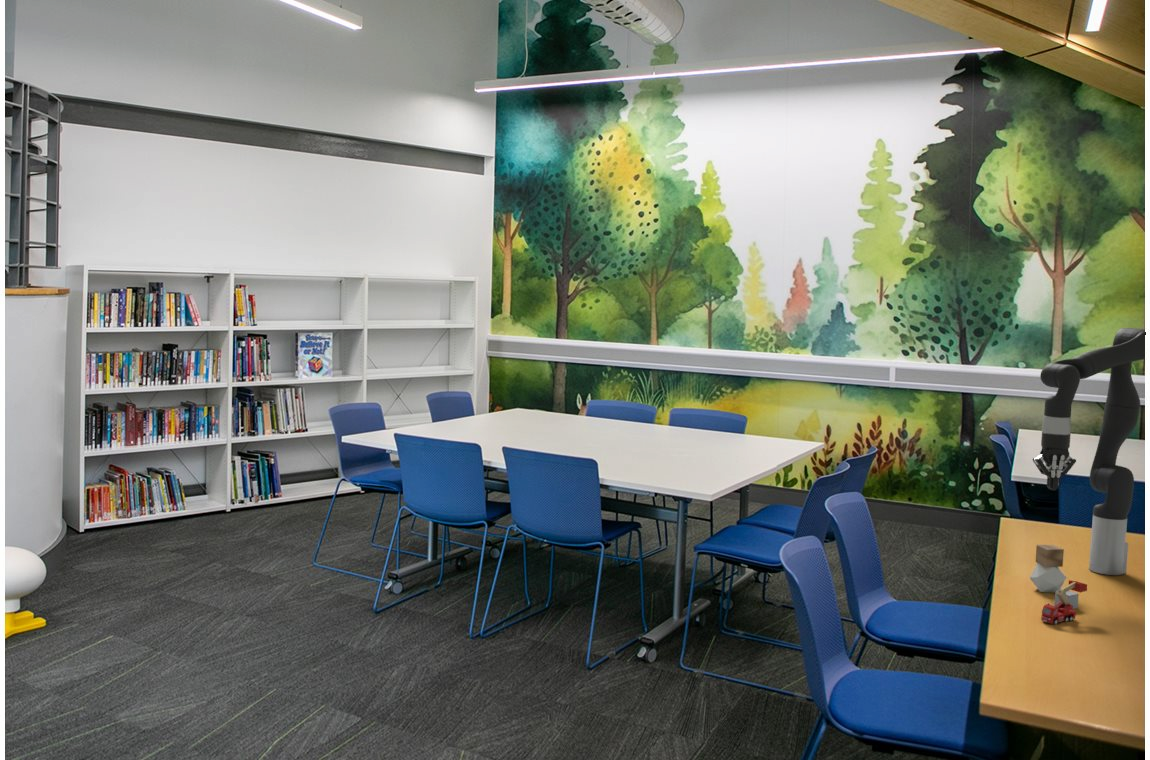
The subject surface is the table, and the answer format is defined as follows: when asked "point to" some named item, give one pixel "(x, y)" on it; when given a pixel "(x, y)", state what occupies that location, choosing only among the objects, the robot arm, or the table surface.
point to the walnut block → (1049, 555)
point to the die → (1047, 578)
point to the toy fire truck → (1062, 605)
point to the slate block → (1072, 599)
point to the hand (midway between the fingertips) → (1052, 489)
